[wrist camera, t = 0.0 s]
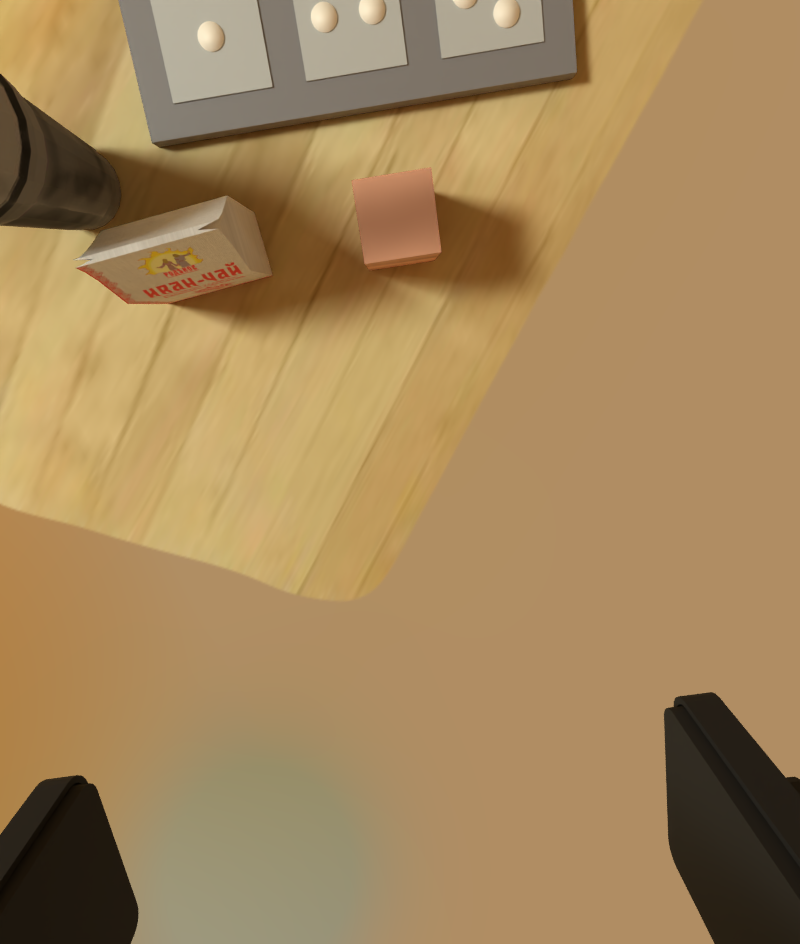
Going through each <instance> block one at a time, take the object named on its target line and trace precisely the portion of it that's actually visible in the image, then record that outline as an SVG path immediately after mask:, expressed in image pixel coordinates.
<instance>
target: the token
mask: <svg viewBox="0 0 800 944" xmlns="http://www.w3.org/2000/svg"><path fill="white" fill-rule="evenodd" d="M352 186H353V193H354V199H355V205H356V212H357V218H358V225H359V231H360V238H361V244H362V250H363V257H364V263H365V265H366V267H367V268H368V269H369V271H371V270H377V269H384V268H390V267H396V266H403V265H409V264H415V263H422V262H428V261H434V260H435V259H436V258H437V257H438V255H439V254H440V253H441V244H440V236H439V228H438V220H437V212H436V204H435V195H434V187H433V179H432V171H431V167H430V168H424V169H418V170H412V171H405V172H399V173H393V174H387V175H381V176H375V177H368V178H362V179H356V180H352Z"/></svg>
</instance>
